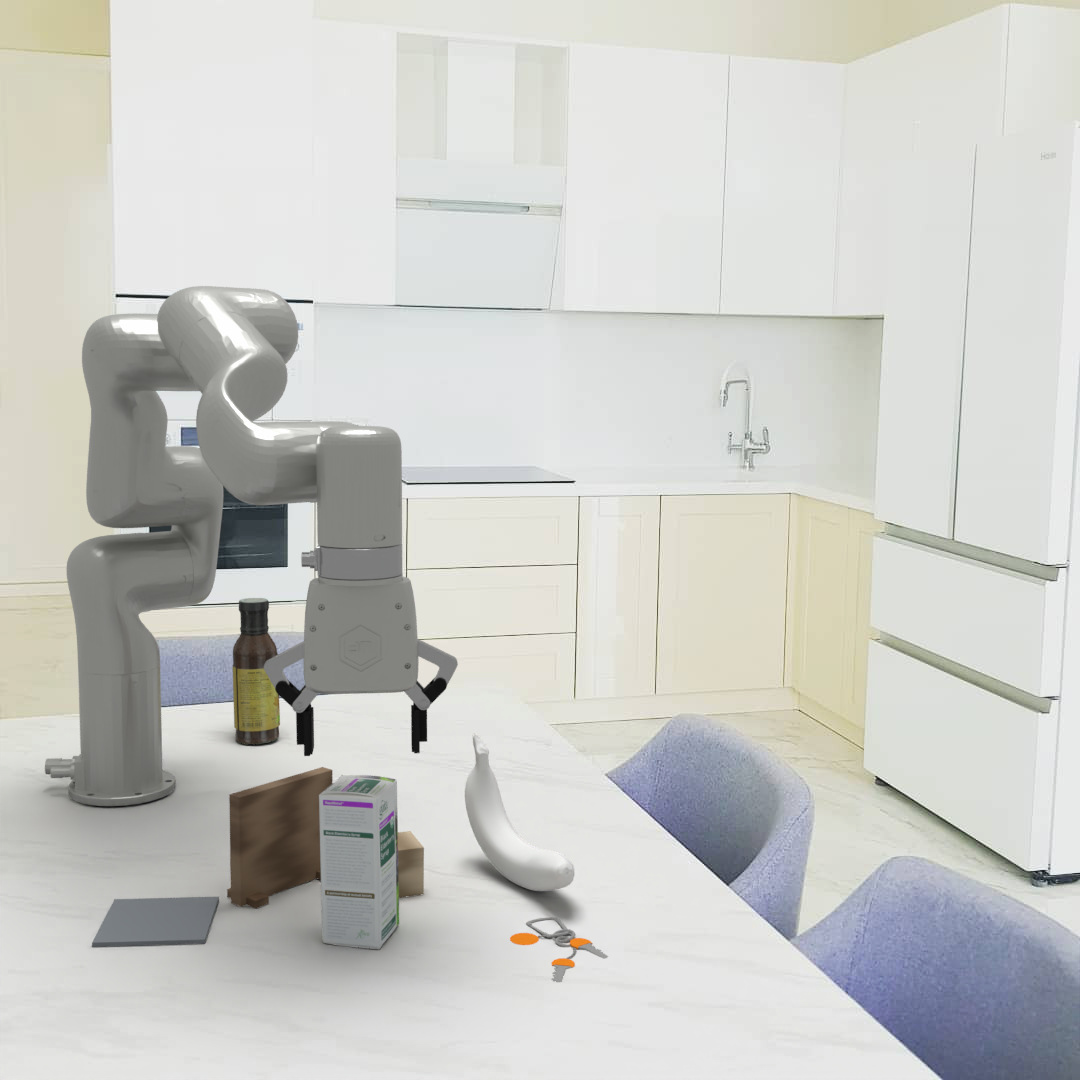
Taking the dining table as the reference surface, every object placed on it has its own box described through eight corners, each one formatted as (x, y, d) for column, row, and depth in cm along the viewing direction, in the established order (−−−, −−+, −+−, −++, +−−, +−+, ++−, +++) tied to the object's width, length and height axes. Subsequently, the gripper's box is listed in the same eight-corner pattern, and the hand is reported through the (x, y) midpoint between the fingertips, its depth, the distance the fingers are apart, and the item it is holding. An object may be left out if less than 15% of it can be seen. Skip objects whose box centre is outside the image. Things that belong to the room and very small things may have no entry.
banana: (559, 922, 130) (561, 774, 128) (449, 862, 145) (450, 728, 143) (598, 910, 132) (601, 765, 131) (487, 852, 147) (488, 721, 146)
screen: (250, 910, 131) (248, 800, 130) (221, 899, 134) (219, 791, 132) (342, 875, 140) (342, 772, 139) (313, 865, 143) (313, 764, 142)
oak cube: (374, 901, 134) (374, 853, 133) (362, 883, 139) (362, 836, 138) (423, 895, 136) (423, 847, 135) (410, 877, 140) (410, 831, 140)
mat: (92, 946, 122) (91, 942, 122) (114, 903, 132) (114, 899, 132) (205, 943, 124) (204, 939, 123) (219, 900, 133) (219, 896, 133)
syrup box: (380, 950, 123) (380, 795, 121) (319, 944, 124) (318, 790, 122) (399, 925, 128) (400, 776, 126) (340, 919, 129) (339, 772, 127)
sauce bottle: (288, 740, 189) (287, 600, 187) (249, 749, 185) (248, 605, 182) (263, 731, 194) (261, 594, 191) (224, 739, 189) (222, 599, 187)
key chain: (493, 930, 128) (494, 921, 128) (563, 918, 131) (564, 910, 131) (550, 987, 117) (550, 978, 117) (625, 973, 120) (625, 964, 120)
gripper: (258, 571, 117) (262, 765, 119) (459, 569, 119) (459, 759, 121) (266, 560, 124) (269, 742, 126) (455, 558, 126) (455, 737, 128)
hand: (362, 750), depth 123 cm, fingers open, 9 cm apart
